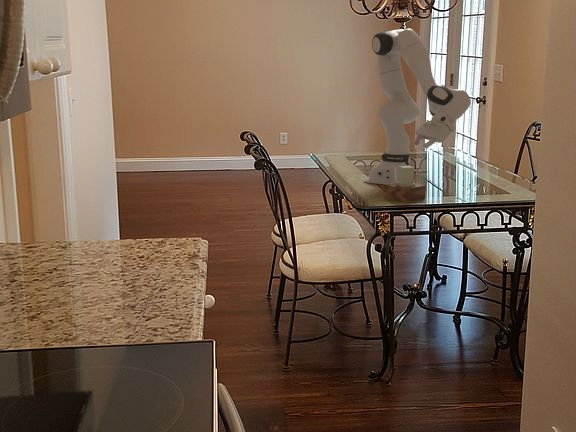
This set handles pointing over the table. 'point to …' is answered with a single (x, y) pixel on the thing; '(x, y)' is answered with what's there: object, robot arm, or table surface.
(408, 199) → the walnut riser
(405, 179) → the sage block
